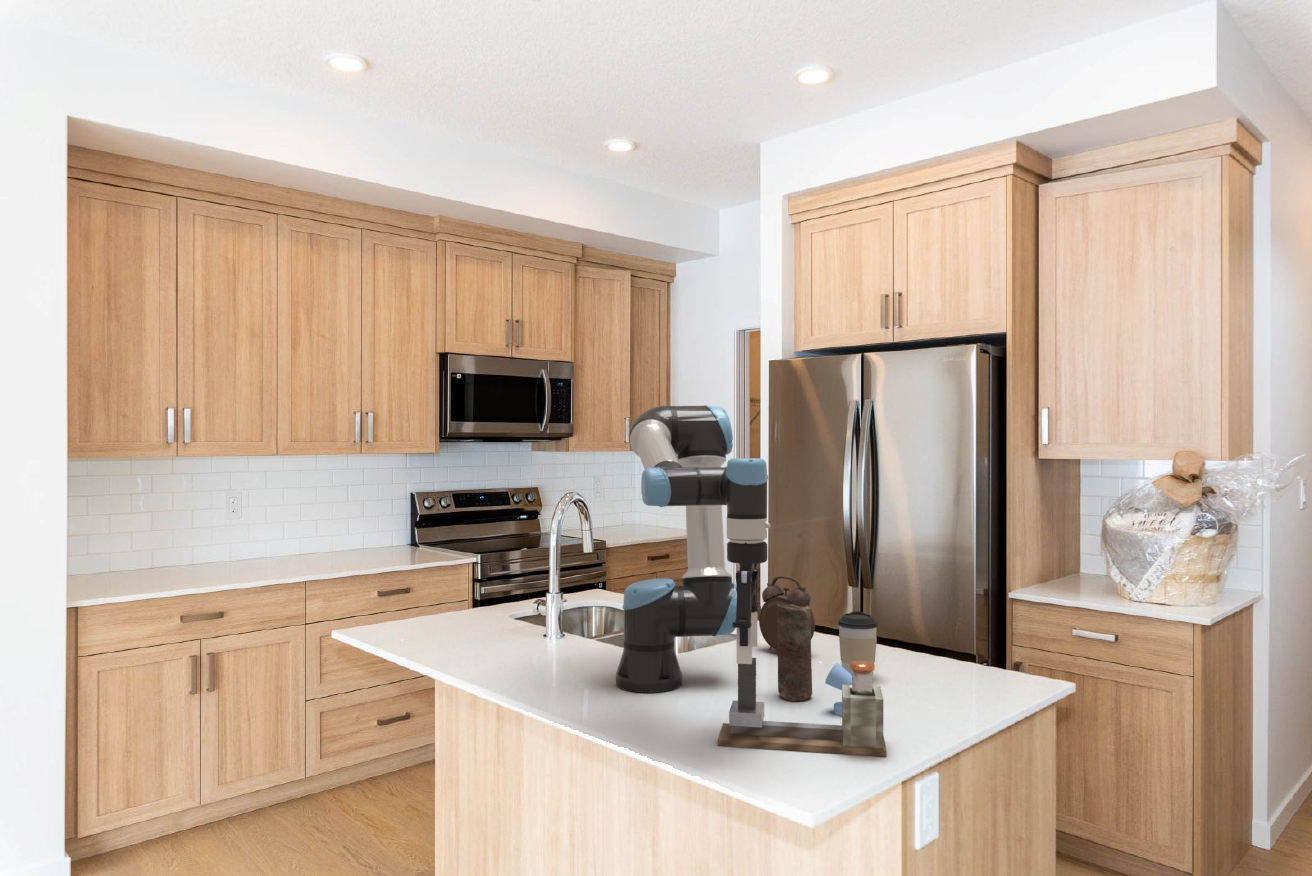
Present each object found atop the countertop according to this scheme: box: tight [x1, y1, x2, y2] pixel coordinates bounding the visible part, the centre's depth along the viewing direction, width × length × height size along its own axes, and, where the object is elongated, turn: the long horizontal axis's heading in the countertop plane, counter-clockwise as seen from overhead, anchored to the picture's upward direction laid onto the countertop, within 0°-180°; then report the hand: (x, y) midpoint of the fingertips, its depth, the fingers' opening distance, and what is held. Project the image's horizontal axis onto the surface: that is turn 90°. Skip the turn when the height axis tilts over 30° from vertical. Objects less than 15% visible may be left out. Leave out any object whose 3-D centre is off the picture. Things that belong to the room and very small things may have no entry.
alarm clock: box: [758, 575, 816, 652], centre depth 227 cm, size 15×7×20 cm, turn 44°
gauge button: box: [850, 661, 876, 696], centre depth 160 cm, size 4×4×8 cm
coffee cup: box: [837, 610, 878, 681], centre depth 204 cm, size 9×9×15 cm
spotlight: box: [824, 662, 852, 717], centre depth 179 cm, size 5×10×7 cm
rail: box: [717, 685, 888, 758], centre depth 162 cm, size 30×9×10 cm, turn 79°
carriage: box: [728, 657, 765, 727], centre depth 164 cm, size 6×7×12 cm
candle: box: [777, 604, 813, 702], centre depth 190 cm, size 8×7×20 cm
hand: (747, 654), depth 164 cm, fingers open, 13 cm apart
